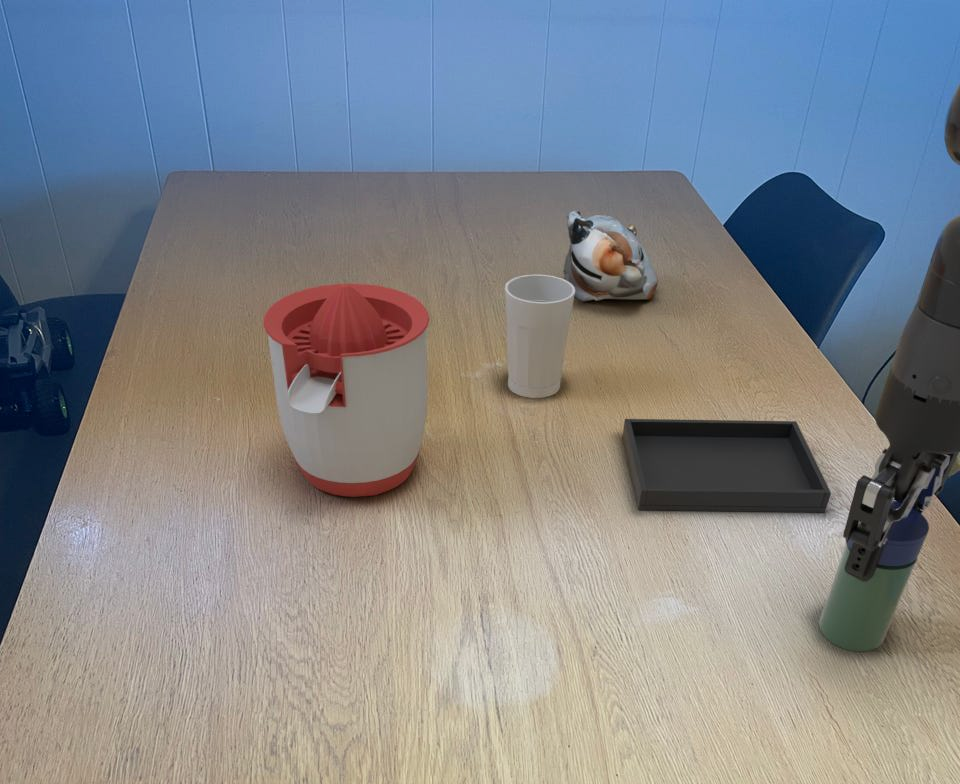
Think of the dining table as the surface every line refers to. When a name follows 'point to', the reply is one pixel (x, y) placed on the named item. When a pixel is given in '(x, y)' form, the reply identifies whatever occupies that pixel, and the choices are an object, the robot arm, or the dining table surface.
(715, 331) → the dining table surface
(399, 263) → the dining table surface
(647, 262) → the lucky cat figurine
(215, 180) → the dining table surface
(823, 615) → the jar
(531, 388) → the cup
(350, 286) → the citrus juicer
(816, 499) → the tray
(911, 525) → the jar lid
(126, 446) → the dining table surface
